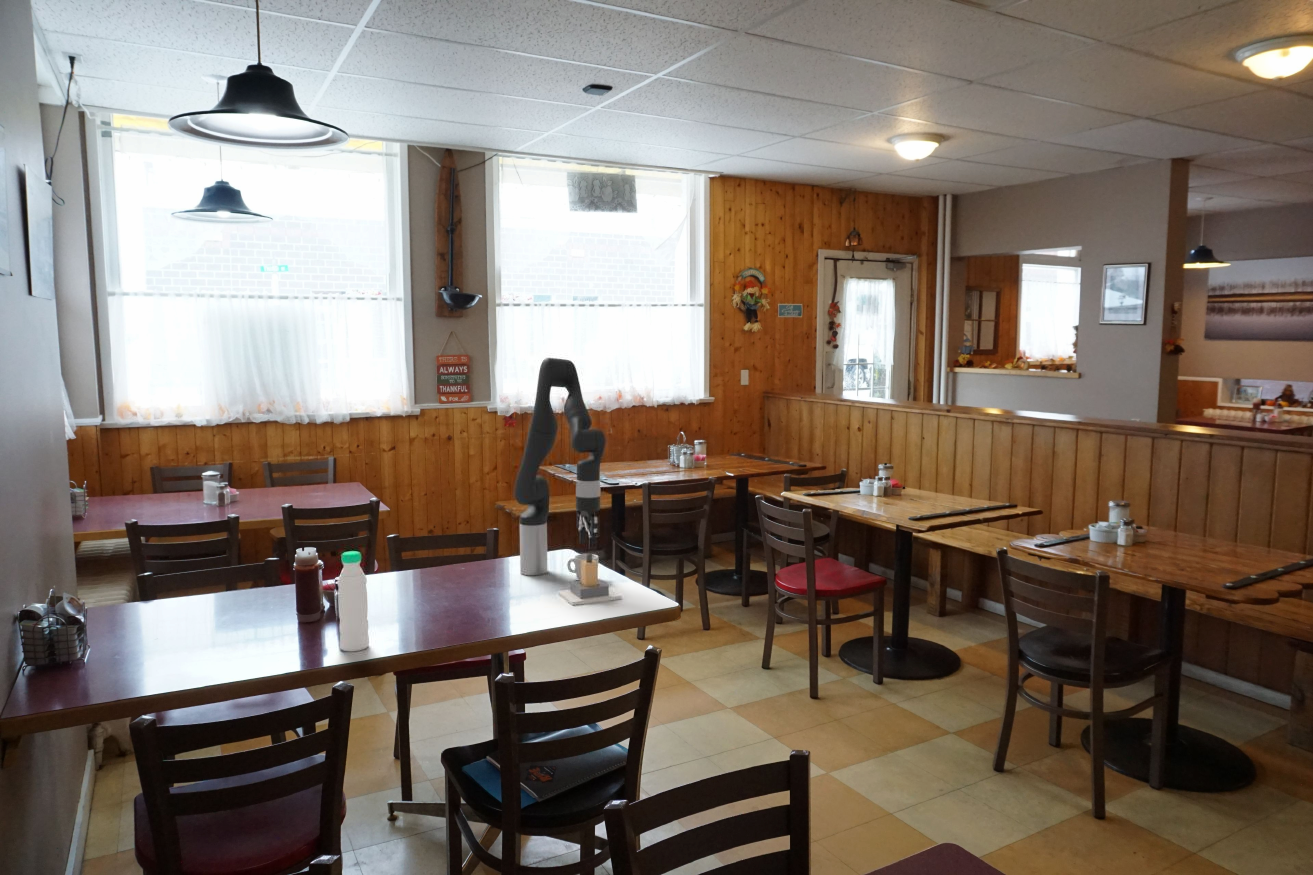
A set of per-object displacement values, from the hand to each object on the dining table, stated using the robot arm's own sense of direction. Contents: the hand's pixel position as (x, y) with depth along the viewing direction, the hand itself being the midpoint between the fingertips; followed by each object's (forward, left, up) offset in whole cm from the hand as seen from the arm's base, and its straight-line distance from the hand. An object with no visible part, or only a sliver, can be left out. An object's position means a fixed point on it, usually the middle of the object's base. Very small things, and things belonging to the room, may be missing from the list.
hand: (587, 546), depth 268 cm
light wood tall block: (0, 0, -15) cm, 15 cm away
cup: (-19, +5, -16) cm, 26 cm away
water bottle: (+18, -71, -16) cm, 75 cm away
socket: (0, 0, -16) cm, 16 cm away
